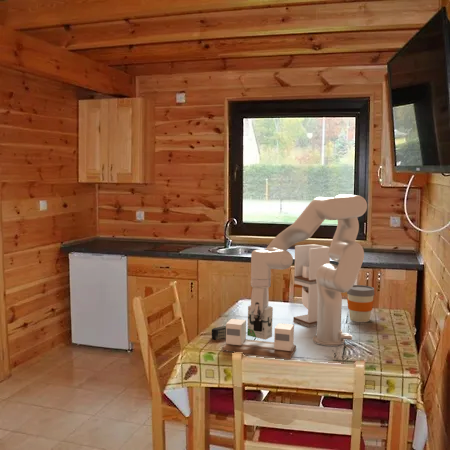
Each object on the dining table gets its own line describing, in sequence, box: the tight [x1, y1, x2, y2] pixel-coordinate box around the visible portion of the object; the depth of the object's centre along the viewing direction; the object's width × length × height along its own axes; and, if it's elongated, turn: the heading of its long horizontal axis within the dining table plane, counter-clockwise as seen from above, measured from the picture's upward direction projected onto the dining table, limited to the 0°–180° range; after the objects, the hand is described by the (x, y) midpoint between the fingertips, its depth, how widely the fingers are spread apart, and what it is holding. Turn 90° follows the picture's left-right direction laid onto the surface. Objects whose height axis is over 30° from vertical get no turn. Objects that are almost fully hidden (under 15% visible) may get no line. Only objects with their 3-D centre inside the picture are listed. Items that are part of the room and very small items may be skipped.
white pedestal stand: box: [292, 243, 331, 328], centre depth 237 cm, size 11×11×35 cm
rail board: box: [222, 338, 297, 360], centre depth 201 cm, size 26×12×2 cm, turn 72°
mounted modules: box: [225, 318, 295, 351], centre depth 200 cm, size 25×7×8 cm, turn 72°
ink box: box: [246, 304, 274, 341], centre depth 200 cm, size 9×5×12 cm, turn 53°
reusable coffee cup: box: [346, 284, 376, 323], centre depth 244 cm, size 12×13×15 cm
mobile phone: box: [211, 325, 226, 341], centre depth 216 cm, size 5×3×15 cm
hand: (260, 328), depth 200 cm, fingers closed on ink box, 6 cm apart
